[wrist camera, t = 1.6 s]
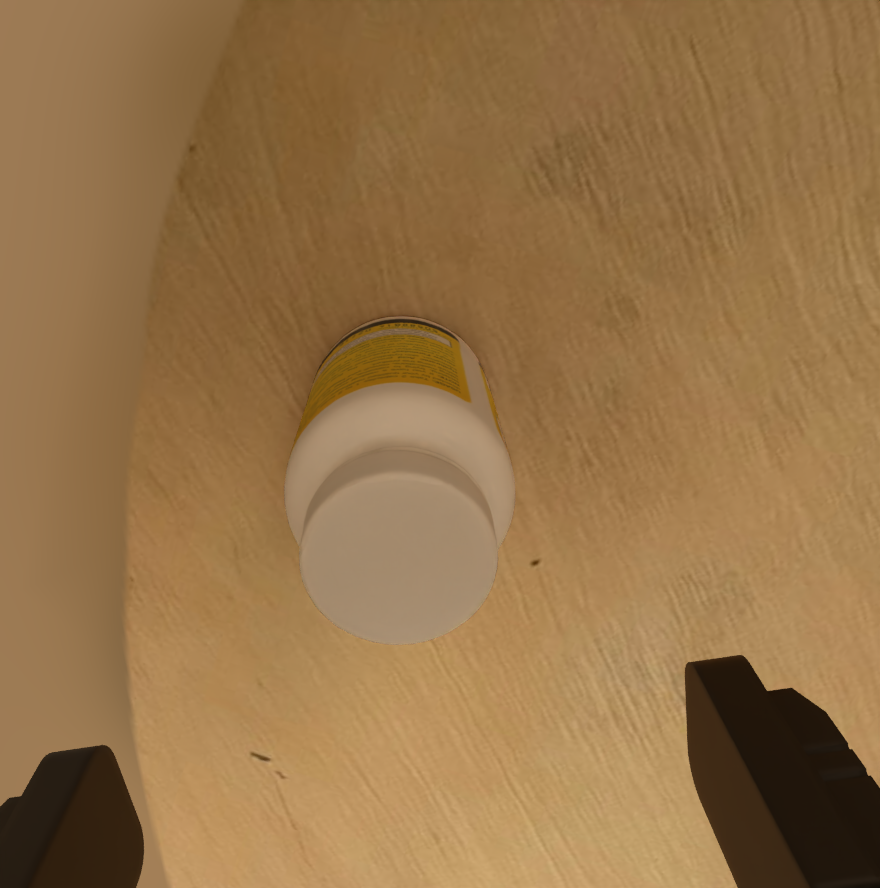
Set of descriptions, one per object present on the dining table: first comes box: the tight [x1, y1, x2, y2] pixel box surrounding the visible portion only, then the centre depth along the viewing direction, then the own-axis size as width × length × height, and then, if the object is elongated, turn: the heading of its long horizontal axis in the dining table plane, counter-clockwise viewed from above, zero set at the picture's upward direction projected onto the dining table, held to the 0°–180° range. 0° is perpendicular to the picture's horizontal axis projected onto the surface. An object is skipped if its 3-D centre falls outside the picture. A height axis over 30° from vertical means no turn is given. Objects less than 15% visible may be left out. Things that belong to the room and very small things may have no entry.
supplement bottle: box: [284, 316, 515, 645], centre depth 21 cm, size 5×5×10 cm
